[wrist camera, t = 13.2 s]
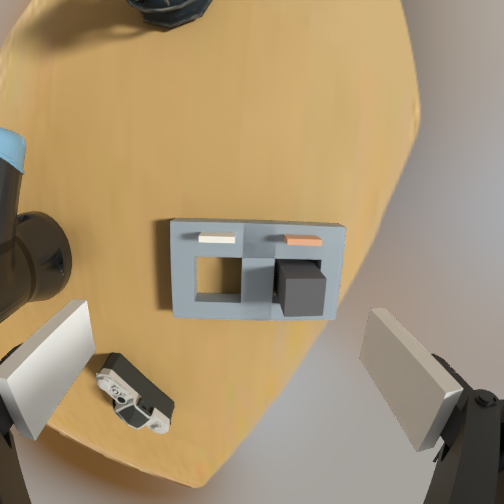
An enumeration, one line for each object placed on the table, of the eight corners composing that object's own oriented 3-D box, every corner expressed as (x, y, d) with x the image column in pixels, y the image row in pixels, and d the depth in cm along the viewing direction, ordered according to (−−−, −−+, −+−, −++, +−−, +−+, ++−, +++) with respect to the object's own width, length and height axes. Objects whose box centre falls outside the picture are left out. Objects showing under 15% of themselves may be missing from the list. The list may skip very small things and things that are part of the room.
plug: (274, 288, 48) (284, 316, 38) (276, 257, 47) (286, 278, 37) (306, 288, 48) (322, 315, 38) (308, 257, 47) (326, 278, 37)
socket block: (178, 306, 48) (169, 326, 41) (175, 217, 44) (165, 224, 38) (328, 309, 49) (340, 328, 42) (337, 223, 46) (354, 231, 39)
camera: (93, 365, 50) (72, 397, 40) (118, 344, 49) (98, 376, 39) (152, 418, 54) (142, 453, 44) (181, 401, 53) (173, 438, 43)
